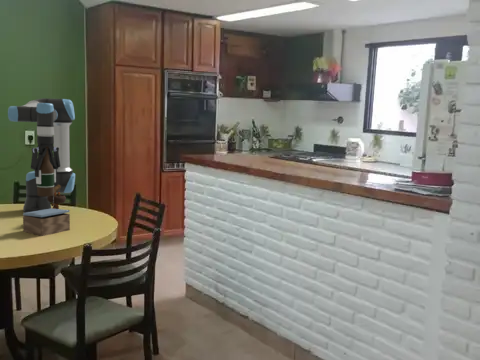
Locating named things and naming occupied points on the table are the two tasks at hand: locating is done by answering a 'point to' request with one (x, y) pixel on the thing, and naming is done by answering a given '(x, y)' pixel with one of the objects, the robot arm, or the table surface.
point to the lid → (46, 212)
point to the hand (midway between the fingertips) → (46, 182)
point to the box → (46, 224)
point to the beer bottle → (46, 177)
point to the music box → (56, 198)
